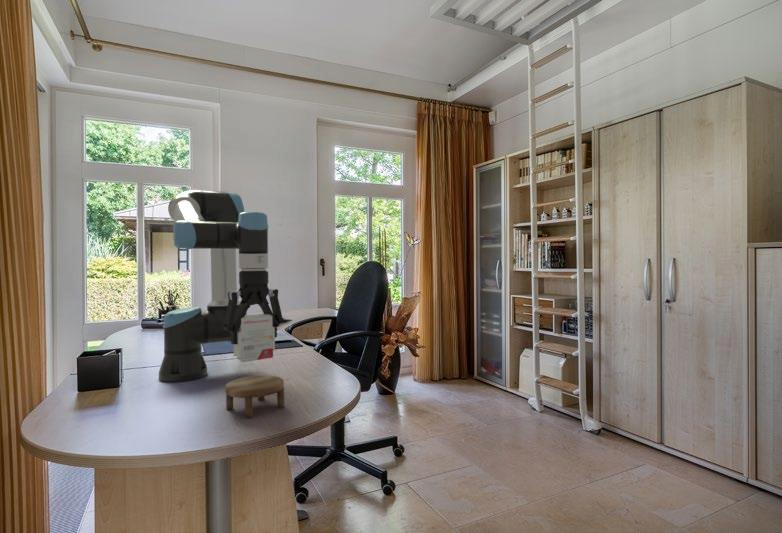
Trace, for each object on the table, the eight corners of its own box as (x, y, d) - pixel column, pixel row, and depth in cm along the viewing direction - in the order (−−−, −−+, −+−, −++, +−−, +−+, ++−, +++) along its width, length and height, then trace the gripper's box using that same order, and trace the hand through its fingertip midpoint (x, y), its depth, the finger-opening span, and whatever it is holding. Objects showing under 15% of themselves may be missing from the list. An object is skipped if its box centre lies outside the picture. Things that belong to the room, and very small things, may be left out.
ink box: (268, 355, 121) (267, 313, 120) (273, 358, 116) (273, 315, 116) (236, 359, 116) (235, 315, 116) (240, 362, 112) (240, 317, 111)
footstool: (215, 409, 116) (215, 384, 116) (264, 395, 127) (264, 372, 127) (244, 423, 106) (244, 395, 106) (295, 407, 117) (294, 382, 117)
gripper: (221, 271, 105) (222, 362, 105) (295, 269, 121) (296, 348, 122) (207, 270, 110) (208, 358, 110) (280, 268, 126) (281, 344, 127)
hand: (254, 353), depth 116 cm, fingers closed on ink box, 9 cm apart
